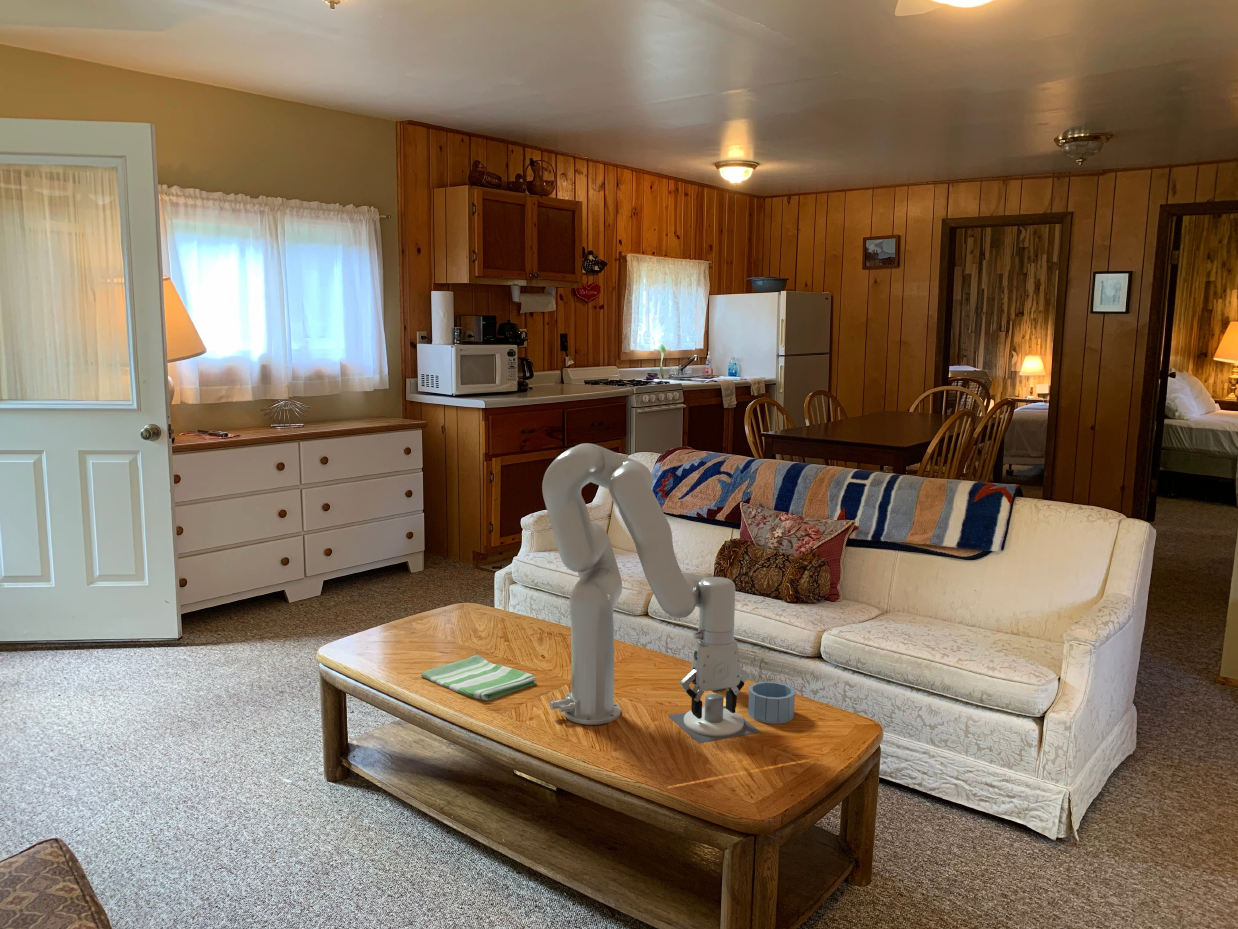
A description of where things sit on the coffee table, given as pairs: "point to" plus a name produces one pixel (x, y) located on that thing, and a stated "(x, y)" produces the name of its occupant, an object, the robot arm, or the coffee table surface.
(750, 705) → the bowl
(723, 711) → the lid
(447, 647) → the coffee table surface
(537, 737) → the coffee table surface
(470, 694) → the dish towel
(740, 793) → the coffee table surface
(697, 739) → the mat
